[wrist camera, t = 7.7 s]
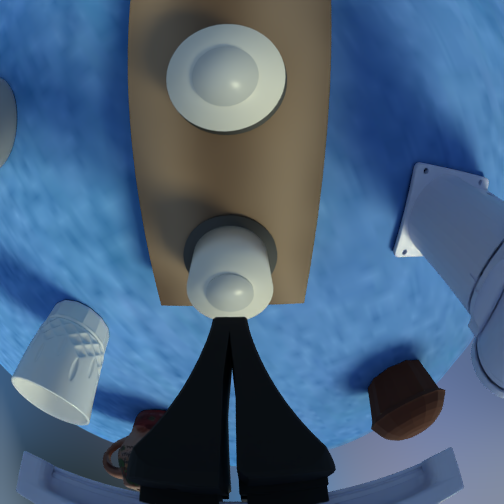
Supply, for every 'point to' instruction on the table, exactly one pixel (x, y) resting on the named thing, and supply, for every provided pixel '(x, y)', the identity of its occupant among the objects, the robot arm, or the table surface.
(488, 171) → the table surface
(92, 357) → the white cup
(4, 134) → the mug
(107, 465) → the brown ceramic rounded pot
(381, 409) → the muffin
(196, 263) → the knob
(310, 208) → the knob strip
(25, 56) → the table surface
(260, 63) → the knob middle
